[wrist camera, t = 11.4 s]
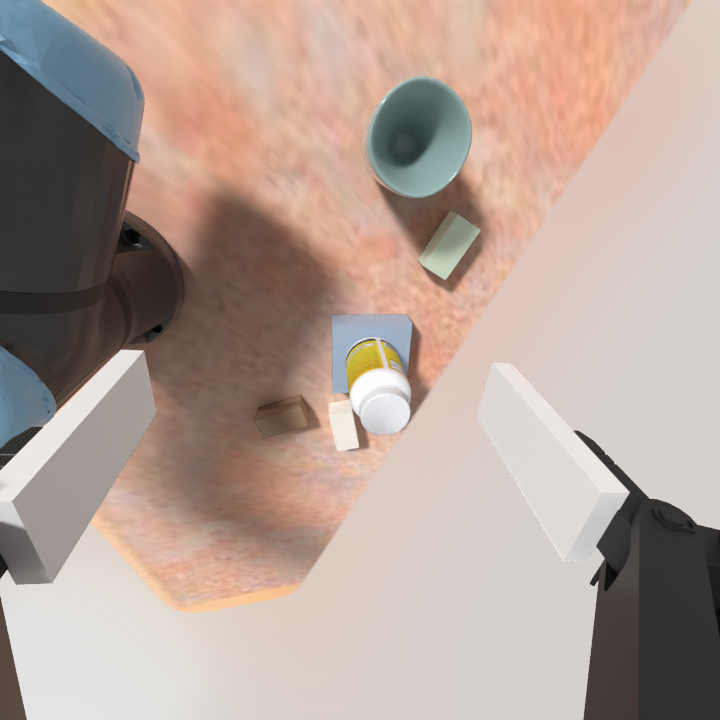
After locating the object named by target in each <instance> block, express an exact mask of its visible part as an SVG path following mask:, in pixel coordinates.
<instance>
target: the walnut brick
mask: <svg viewBox="0 0 720 720" xmlns="http://www.w3.org/2000/svg"><path fill="white" fill-rule="evenodd" d="M308 422H309V411H308V409H307V407H306V405H305V403H304V400H303V398H302V396H301V395H299V396H296V397H292V398H289V399H286V400H282V401H279V402H276V403H272V404H269V405H266V406H262V407H259V408H258V410H257V413H256V417H255V423H256V425H257V426H258V428H259V430H260V432H261V434H262V435H263V437H264V439H265V438H268V437H271V436H275V435H278V434H282V433H285V432H288V431H292V430H295V429H298V428H302V427H305V426H308Z"/></svg>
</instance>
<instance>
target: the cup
mask: <svg viewBox="0 0 720 720" xmlns="http://www.w3.org/2000/svg"><path fill="white" fill-rule="evenodd" d="M471 139H472V126H471V120H470V117H469V113H468V110H467V108H466V107H465V105H464V103H463V101H462V100H461V98H460V97H459V96H458V95H457V93H456V92H455V91H454V90H453V89H452V88H450V87H449V86H448V85H447V84H445V83H443V82H441V81H440V80H438V79H435V78H431V77H427V76H415V77H412V78H409V79H406V80H404V81H402V82H400V83H399V84H397V85H396V86H394V87H393V88H392V89H391V90H390V91H388V92H387V93H386V94H385V95H384V96H383V97H382V98H381V99H380V100H379V102H378V103H377V104H376V106H375V107H374V108H373V110H372V111H371V113H370V115H369V117H368V119H367V121H366V123H365V126H364V129H363V132H362V138H361V153H362V157H363V161H364V163H365V165H366V167H367V169H368V171H369V172H370V174H371V175H372V176H373V178H374V179H375V180H376V181H377V182H378V183H379V184H381V185H382V186H384V187H385V188H387V189H388V190H390V191H392V192H394V193H396V194H398V195H400V196H403V197H407V198H412V199H418V198H426V197H429V196H432V195H434V194H436V193H437V192H439V191H441V190H442V189H443V188H445V187H446V186H447V185H448V184H449V183H450V182H451V181H452V180H453V179H454V178H455V177H456V176H457V174H458V173H459V171H460V170H461V168H462V166H463V165H464V162H465V160H466V158H467V156H468V153H469V149H470V146H471Z"/></svg>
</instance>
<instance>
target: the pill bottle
mask: <svg viewBox="0 0 720 720" xmlns="http://www.w3.org/2000/svg"><path fill="white" fill-rule="evenodd" d="M345 367H346V375H347V382H348V390H349V398H350V403H351V406H352V408H353V410H354V412H355V413H356V414H357V415H358V416H359V417H360V420H361V423H362V425H363V426H364V428H365V429H366V430H368V431H369V432H371V433H373V434H377V435H389V434H393V433H396V432H398V431H399V430H401V429H402V428H403V427H404V426H405V425H406V424H407V422H408V421H409V418H410V406H409V404H410V401H411V387H410V384H409V381H408V379H407V377H406V374H405V372H404V369H403V366H402V364H401V362H400V359H399V356H398V354H397V352H396V350H395V348H394V346H393V345H392V344H391V343H390V342H388V341H387V340H385V339H383V338H379V337H366V338H363V339H360V340H359V341H357V342H356V343H354V344H353V345H352V346H351V348H350V349H349V350H348V352H347V355H346V359H345Z"/></svg>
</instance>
